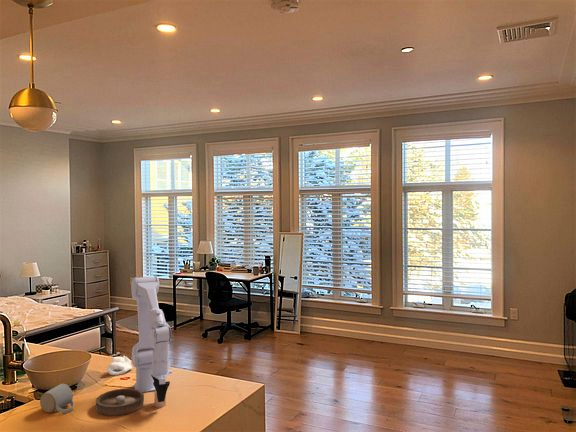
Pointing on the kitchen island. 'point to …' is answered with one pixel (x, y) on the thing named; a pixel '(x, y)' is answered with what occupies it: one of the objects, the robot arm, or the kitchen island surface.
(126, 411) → the groove tray
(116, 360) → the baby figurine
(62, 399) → the ceramic mug
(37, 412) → the kitchen island surface
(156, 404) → the bead
